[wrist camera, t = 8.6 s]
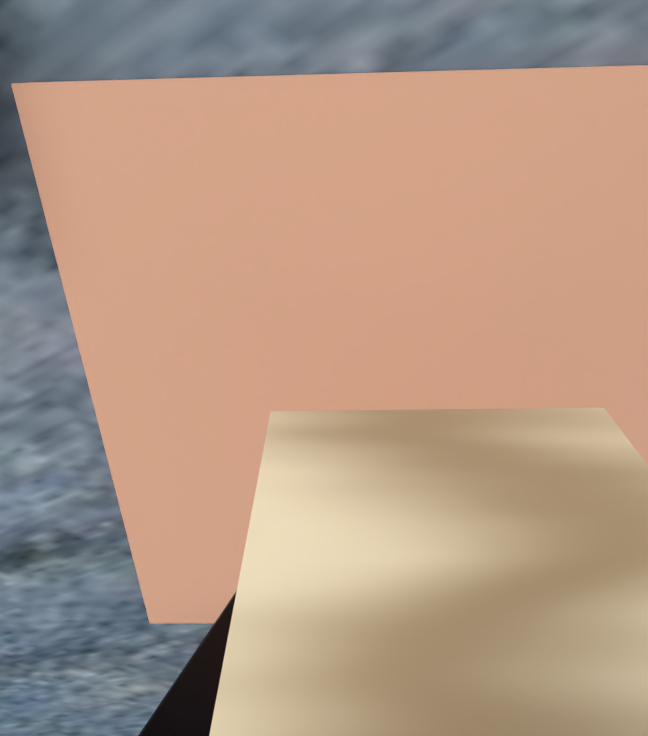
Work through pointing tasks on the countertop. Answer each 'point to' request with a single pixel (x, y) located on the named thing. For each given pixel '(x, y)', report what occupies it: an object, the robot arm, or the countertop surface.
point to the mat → (333, 270)
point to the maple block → (442, 578)
